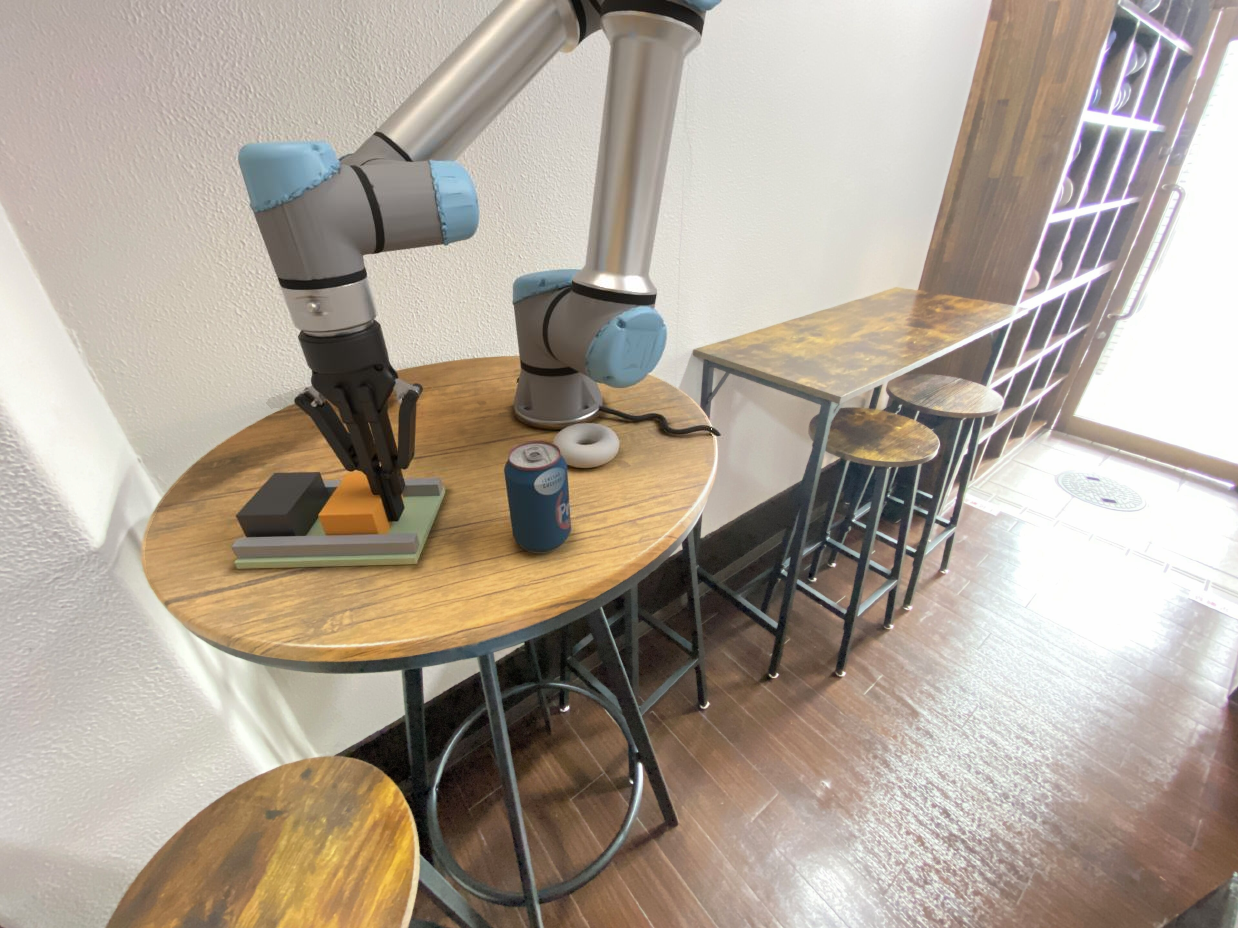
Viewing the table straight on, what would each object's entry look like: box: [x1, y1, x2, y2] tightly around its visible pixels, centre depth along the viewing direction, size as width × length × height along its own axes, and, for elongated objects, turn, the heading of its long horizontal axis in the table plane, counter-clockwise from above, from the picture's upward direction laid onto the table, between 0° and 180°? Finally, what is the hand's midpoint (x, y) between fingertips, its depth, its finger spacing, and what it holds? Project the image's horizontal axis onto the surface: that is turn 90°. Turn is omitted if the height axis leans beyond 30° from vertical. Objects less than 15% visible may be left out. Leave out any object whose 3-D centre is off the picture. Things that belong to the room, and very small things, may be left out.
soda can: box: [503, 440, 572, 555], centre depth 61 cm, size 7×7×12 cm
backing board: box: [230, 471, 446, 570], centre depth 65 cm, size 20×14×6 cm
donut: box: [552, 422, 621, 469], centre depth 80 cm, size 10×4×10 cm
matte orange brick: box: [318, 471, 404, 535], centre depth 64 cm, size 6×9×4 cm
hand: (396, 514), depth 65 cm, fingers closed
